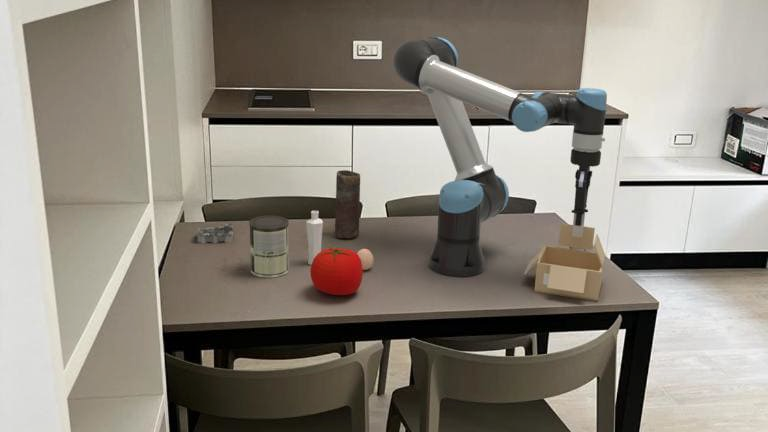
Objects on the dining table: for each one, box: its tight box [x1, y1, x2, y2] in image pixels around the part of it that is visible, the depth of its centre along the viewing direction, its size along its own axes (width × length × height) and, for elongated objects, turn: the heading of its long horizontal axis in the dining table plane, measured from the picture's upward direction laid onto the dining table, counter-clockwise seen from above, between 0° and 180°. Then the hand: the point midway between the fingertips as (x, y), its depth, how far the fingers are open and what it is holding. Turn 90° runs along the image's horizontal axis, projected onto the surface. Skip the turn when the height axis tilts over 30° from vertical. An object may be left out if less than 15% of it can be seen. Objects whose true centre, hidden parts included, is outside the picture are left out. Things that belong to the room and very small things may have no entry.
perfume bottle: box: [305, 210, 324, 266], centre depth 217 cm, size 5×4×15 cm
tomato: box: [310, 247, 364, 296], centre depth 200 cm, size 13×14×12 cm
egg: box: [356, 248, 375, 271], centre depth 216 cm, size 5×5×6 cm
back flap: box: [557, 223, 596, 251], centre depth 212 cm, size 9×1×6 cm, turn 71°
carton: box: [533, 245, 606, 303], centre depth 208 cm, size 16×14×8 cm
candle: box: [334, 169, 361, 239], centre depth 238 cm, size 8×7×20 cm
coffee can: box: [248, 214, 290, 279], centre depth 211 cm, size 10×10×14 cm
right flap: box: [593, 233, 606, 266], centre depth 204 cm, size 1×8×6 cm, turn 159°
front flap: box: [547, 265, 587, 293], centre depth 200 cm, size 9×1×6 cm, turn 71°
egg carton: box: [196, 222, 234, 244], centre depth 235 cm, size 11×8×4 cm
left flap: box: [523, 247, 544, 276], centre depth 210 cm, size 1×8×6 cm
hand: (577, 236), depth 211 cm, fingers closed
